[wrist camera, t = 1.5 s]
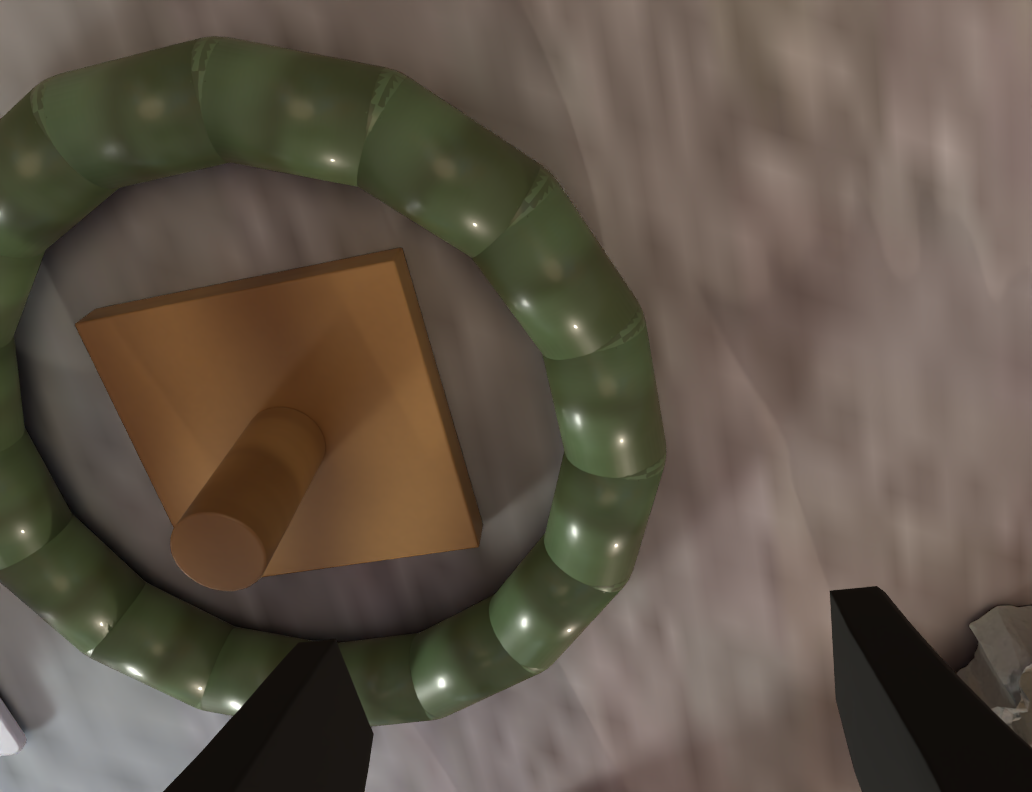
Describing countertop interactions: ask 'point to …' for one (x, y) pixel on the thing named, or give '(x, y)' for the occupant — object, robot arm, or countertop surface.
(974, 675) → the egg carton
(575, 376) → the ring
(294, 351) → the ring stand
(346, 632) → the countertop surface
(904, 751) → the robot arm
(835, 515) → the countertop surface
